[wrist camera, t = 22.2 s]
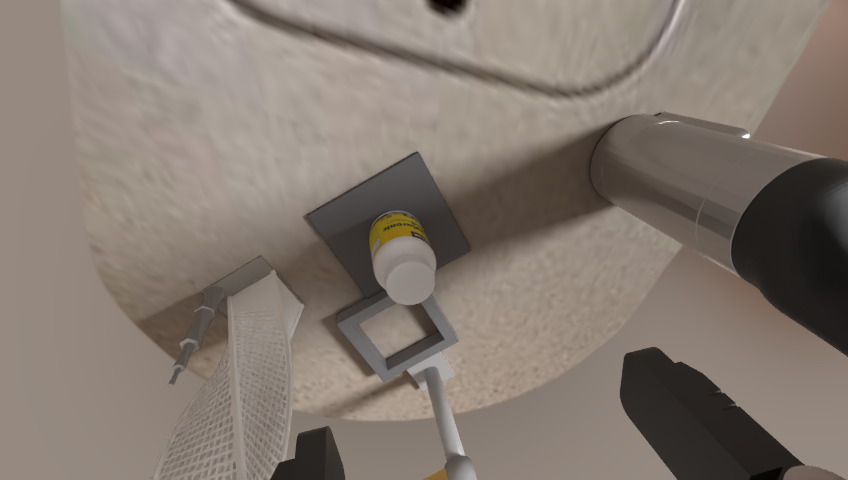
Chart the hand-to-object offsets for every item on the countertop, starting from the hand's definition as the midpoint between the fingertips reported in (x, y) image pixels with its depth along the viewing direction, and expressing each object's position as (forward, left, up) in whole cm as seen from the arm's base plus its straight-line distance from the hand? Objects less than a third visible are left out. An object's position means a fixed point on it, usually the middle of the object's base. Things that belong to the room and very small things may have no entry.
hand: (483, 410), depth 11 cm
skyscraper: (+18, +7, -31) cm, 36 cm away
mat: (+3, +8, -30) cm, 31 cm away
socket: (+8, +21, -30) cm, 37 cm away
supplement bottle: (+3, +8, -30) cm, 31 cm away
